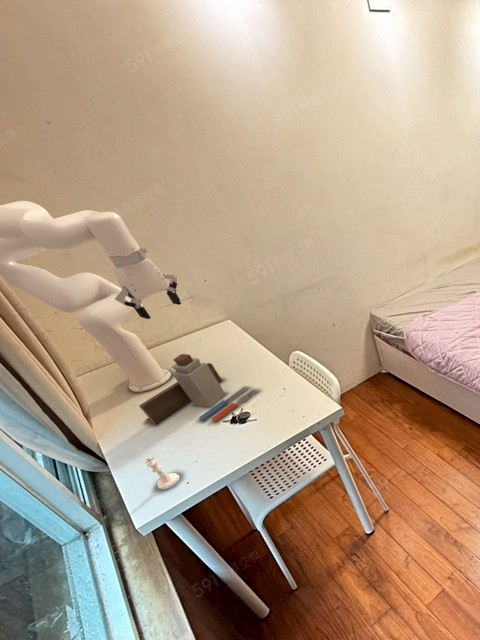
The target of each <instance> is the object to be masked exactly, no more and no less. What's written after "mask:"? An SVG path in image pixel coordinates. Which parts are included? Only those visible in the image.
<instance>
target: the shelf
mask: <svg viewBox="0 0 480 640" xmlns="http://www.w3.org/2000/svg"><path fill="white" fill-rule="evenodd" d="M206 364H207V366H208V367H209V369H210V370H211V372H212V373H213V375H214V377H215V378H216V380H217V381H218V383H219V384H220V383H221V382H223V380H222V377H221V376H220V375H219V373H218V371H217V370H216V368H215V367H214V365H213V364H212V362H207V363H206ZM191 403H193V402H192V401H191V400H190V398H189V397H188V395H187V394H186V393H185V391H184V390H183V388H182V387H181V386H180V384H179V383H178V381H176V382H175V383H173V384H171V385H170V386H168V387H167V388H165V389H163V390H162V391H160V392H159V393H157V394H156V395H154V396H152V397H150V398H148V399H147V400H146V401H144V402H143V403H141V404H139V405H138V407H139V408H140V409H141V411H142V412H143V413H144V414H145V415H146V416H147V418H146V419H145V421H146V422H148V423H150V424H153V425H156V426H157V425H159V424H161V423H162V422H163V421H165V420H167V419H168V418H169V417H171V416H172V415H174V414H175V413H177V412H178V411H180V410H181V409H183V408H184V407H186V406H187V405H189V404H191Z"/></svg>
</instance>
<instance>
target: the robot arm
mask: <svg viewBox="0 0 480 640" xmlns="http://www.w3.org/2000/svg"><path fill="white" fill-rule="evenodd" d="M93 242H97V243H98V244H99V245H100V247H101V248H102V250H103V251H104V252H105V254H106V256H107V257H108V259H109V260H110V262H111V263H112V264H113V266H112V267H111V269H112V272H113V275H114V277H115V279H116V281H117V283H118V284H119V286H120V287H119V286H117V285H116V284H114V283H112V282H111V281H110V280H107V279H106V278H104V277H102V276H101V275H99V274H95V273H92V272H88V271H86V272H79V273H75V274H73V275H70V276H68V277H59V276H57V275H55V274H53V273H52V272H50V271H48V270H47V269H44V268H42V267H38V266H35V265H34V266H33V265H30V264H23V263H19V261H22V260H25V259H28V258H31V257H33V256H36V255H39V254H42V253H43V252H45V251H46V250H47V249H48V250H61V251H62V250H63V251H64V250H72V249H76V248H79V247H82V246H84V245H87V244H90V243H93ZM147 253H148V250H147V249H146V248H144V247H143V248H141V247H140V246H139V245H138V243H137V241H136V240H135V238H134V236H133V235H132V233H131V232H130V230H129V229H128V227H127V225H126V224H125V222H124V221H123V219H122V217H121V216H120V214H118V213H116V212H114V211H96V210H92V209H91V210H90V209H87V210H85V209H84V210H81V211H76V212H73V213H69V214H66V215H63V216H59V217H58V216H57V217H56V218H54V217H53V216H52V215H51V214H50V213H49V212H48V210H46V209H45V208H44V207H42V206H41V205H39V204H38V203H35V202H33V201H29V200H17V201H13V202H8V203H4V204H0V275H2V277H3V278H4V279H5V281H6V282H7V283H8V284H7V283H6V284H7V285H10V286H12V287H14V288H17V289H20V290H21V291H23V292H25V293H27V294H29V295H31V296H32V297H34V298H36V299H37V300H40V301H41V302H43V303H45V304H47V305H49V306H51V307H53V308H54V309H56V310H59V311H61V312H62V313H63V312H64V313H71V314H72V313H75V312H78V311H79V312H78V314H76V315H77V316H76V321H77V324H78V325H79V326H80V328H82V329H83V330H84V331H86V333H88V334H89V335H90V336H91V337H93V338H94V339H95V341H97V343H98V344H99V345H100V346H101V347H102V348H103V349H104V351H105V352H106V353H107V354H108V355H109V356H110V358H111V359H112V360H113V361H114V363H115V364H116V365H117V366H118V367H119V369H120V370H121V371H122V373H123V374H124V375H125V376H126V378H127V379H128V380H129V381H130V382H129V384H128V389H130V391H132V392H136V393H141V392H142V393H143V392H147V391H150V390H153V389H156V388H158V387H159V386H161V385H163V384H165V383H166V382H167V381H169V380H170V378H171V377H172V372H170V370H168V369H166V368H161V367H160V365H159V363H158V362H157V360H156V359H155V358H154V357H153V356H152V354H151V353H150V351H149V350H148V348H147V347H146V345H145V344H144V342H143V341H142V340H141V339H140V337H138V335H137V334H135V333H134V332H131V331H129V330H126V329H124V328H123V327H124V326H126V325H127V324H129V323H131V322H132V321H134V320H136V319H137V318H139V317H140V318H142V319H145V320H150V319H151V318H152V317H151V315H150V314H149V313H148V311H147V310H146V308H145V307H144V305H143V304H142V302H143V300H145V299H147V298H149V297H153V296H154V295H157V294H159V293H163V292H164V291H166V295H167V296H168V298H169V299H170V301H171V303H172V304H174V305H179V306H180V305H182V302H181V299H180V297H179V296H178V294H177V286H178V283H177V282H178V280H177V275H173V274H165V273H164V274H163V273H162V272H161V270H160V269H159V268H158V266H156V264H155V263H154V262H153V261H152V260H151V259H150V258H149V257H147V256H146V254H147ZM167 280H169V283H168V281H167Z"/></svg>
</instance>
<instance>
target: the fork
mask: <svg viewBox="0 0 480 640" xmlns="http://www.w3.org/2000/svg"><path fill="white" fill-rule="evenodd" d="M258 392H259V391H257V390H254V389H252V390H250V391H249V392H248V393H246V394H245V395H243V396H242V397H240V398H239V399H238V400H239V401H237V402H236V403H234V402H231V403H229V404H228V405H227V406H225V407H224V408H223V409H221V410H220V411H218V412H217V413H216V414H214V415H213V417H210V419H211V421H212V422H215V423H218V422H220V421H221V420H222V419H224V418H225V417H226V416H228V415H229V414H230V413H232V412H233V411H235V410H236V409H237V408H238V407H239V405H241V404H242V403H243V402H244V403H246V402H247V401H248V400H249V399H251V398H252V397H253V396H255V395H256V394H257V393H258Z"/></svg>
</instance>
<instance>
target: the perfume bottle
mask: <svg viewBox="0 0 480 640" xmlns="http://www.w3.org/2000/svg"><path fill="white" fill-rule="evenodd" d="M173 361H174V362H175V364H174V365H172V366H171V368H172V369H173V370H175V371H173V372H171V375H172V376H173V377H174V379H175V380H176V382H178V383H179V384H180V386H181V387H182V388H183V390H184V391H185V393H186V394H187V395H188V397H189V398H190V400H191V401H192V402H191V403H192V404H193V406H200V407H207V408H212V407H213V406H215V404H216V403H217V402H218V401H220V400H221V399H222V398H223V397H225V396H226V392H225V391H224V388H223V387H222V386H221V384H220V383H218V381H217V380H216V378H215V377H214V375H213V373H212V372H211V370H210V369H209V367H208V366H207V363H206V362H201V360H200V358H194V357H192V356H191V354H186V353H181V354H179V355H178V356H177V357H175V358H173Z"/></svg>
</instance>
